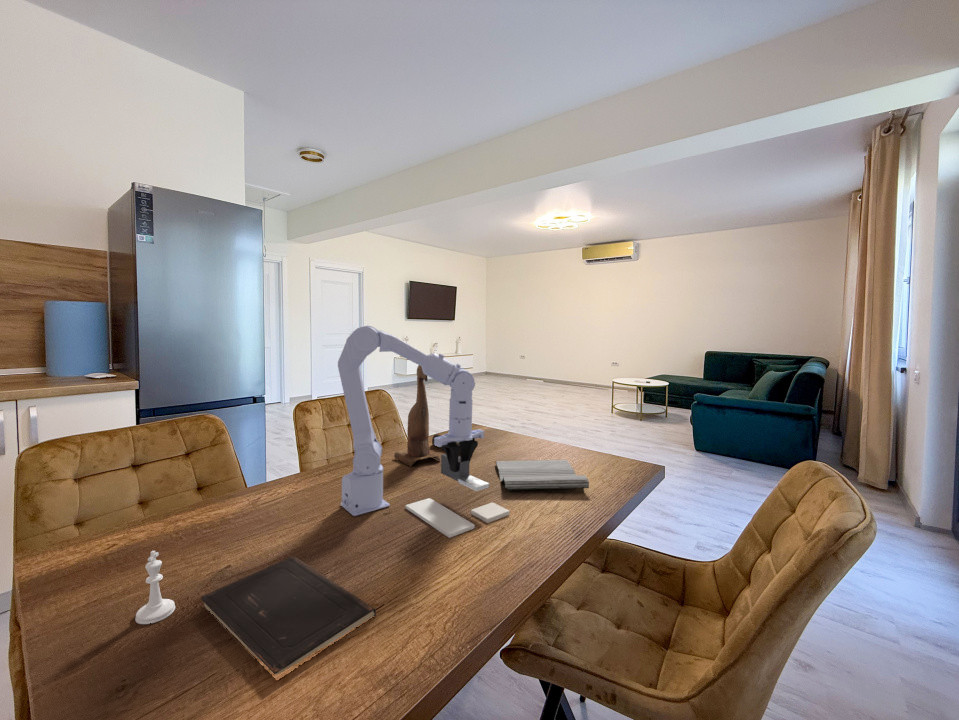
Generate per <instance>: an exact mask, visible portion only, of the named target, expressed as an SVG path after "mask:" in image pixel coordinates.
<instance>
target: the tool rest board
mask: <svg viewBox="0 0 959 720" xmlns="http://www.w3.org/2000/svg"><path fill="white" fill-rule="evenodd" d="M405 509H406V510H407V511H409V512H411V513H412V514H413V515H415V516H416V517H418V518H420V520H423V522H425V523H427V524H428V525H430V526H431V527H432V528H434V529H435V530H437V531H438V532H440V533H441V534H443V536H446V537H448V538H450V539H451V538H453V537H455V536H458V535H461V534H464V533H465V532H466V533H467V532H469V531H471V530H473V529H475V528H476V527H475V524H474V523H472V522H471V521H469V520H468V519H466V518H464V517H463V516H461V515H459V514H457V513H455V512H454V511H452V510H451V509H448V508H447V507H445V506H444V505H442V504H441V503H439V502H437V501H436V500H434V499H432V498H430V497H428V498H424V499H421V500H418V501H415V502H412V503H409V504H405Z"/></svg>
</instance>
